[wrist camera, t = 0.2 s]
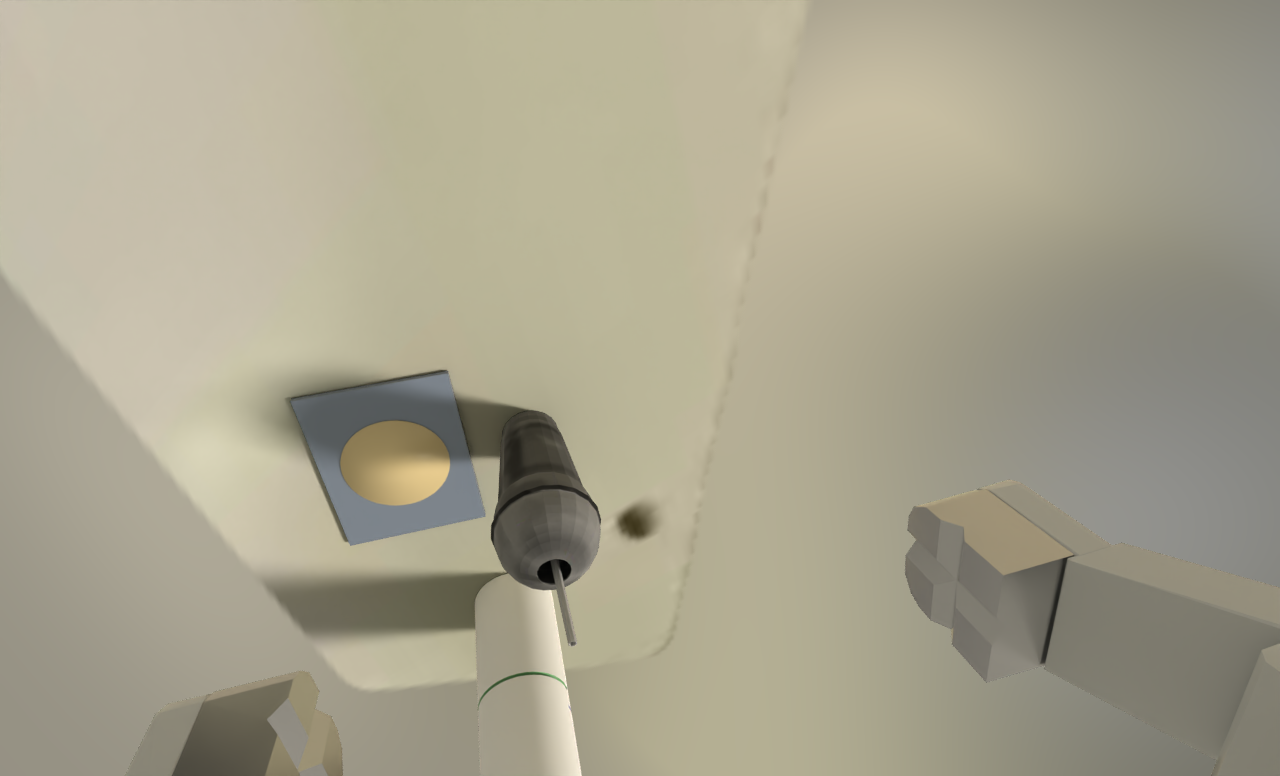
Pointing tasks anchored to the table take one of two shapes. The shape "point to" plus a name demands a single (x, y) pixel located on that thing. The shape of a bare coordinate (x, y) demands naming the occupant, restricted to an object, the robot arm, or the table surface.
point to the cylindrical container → (521, 684)
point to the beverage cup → (543, 511)
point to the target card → (392, 456)
